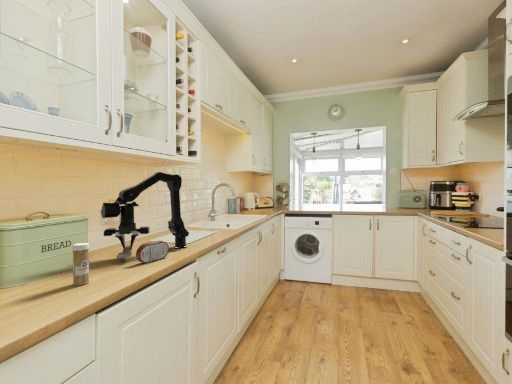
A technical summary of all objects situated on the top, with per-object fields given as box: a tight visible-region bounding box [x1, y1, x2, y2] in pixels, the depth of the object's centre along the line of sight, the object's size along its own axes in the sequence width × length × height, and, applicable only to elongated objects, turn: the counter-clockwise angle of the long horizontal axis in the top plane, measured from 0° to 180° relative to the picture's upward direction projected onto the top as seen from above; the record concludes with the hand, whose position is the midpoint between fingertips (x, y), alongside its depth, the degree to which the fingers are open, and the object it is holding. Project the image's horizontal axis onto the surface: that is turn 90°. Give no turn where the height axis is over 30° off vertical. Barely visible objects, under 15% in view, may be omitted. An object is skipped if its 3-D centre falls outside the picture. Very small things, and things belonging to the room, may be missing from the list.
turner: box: [116, 244, 133, 259], centre depth 116 cm, size 16×5×2 cm, turn 18°
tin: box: [135, 240, 170, 264], centre depth 112 cm, size 15×3×8 cm, turn 146°
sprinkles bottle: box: [72, 242, 90, 287], centre depth 84 cm, size 5×5×14 cm
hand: (127, 249), depth 118 cm, fingers closed on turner, 2 cm apart
